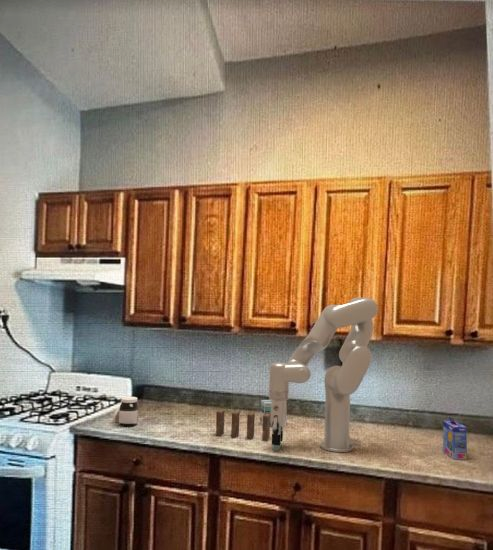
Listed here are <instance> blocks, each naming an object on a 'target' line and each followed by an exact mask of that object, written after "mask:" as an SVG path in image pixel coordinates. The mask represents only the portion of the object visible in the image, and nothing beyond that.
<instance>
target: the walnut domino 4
mask: <svg viewBox="0 0 493 550" xmlns="http://www.w3.org/2000/svg"><path fill="white" fill-rule="evenodd" d="M270 432H271V427H270V413H265V414H264V415H263V426H262V435H261V436H262V441H263V442H268V441H269V439H270V436H271V435H270Z"/></svg>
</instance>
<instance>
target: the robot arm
mask: <svg viewBox="0 0 493 550" xmlns="http://www.w3.org/2000/svg"><path fill="white" fill-rule="evenodd" d="M378 311H379V306H378V303H377V302H376V301H375V300H374V299H372V298H370V297H360V296H359V297H353V298H351V299H350V300H349V302H348V303H344V304H338V305H337V304H329V305H327V306H326V307H325V308H324V309H323V310H322V312H321V313H320V314H319V316H318V318H317V320H316V322H315V323H314V325H313V326H312V328H311V329H310V331H309V333H308V334H307V336H306V337H305V338H304V339H303V340H302V341H301V342H300V343H299V345H298V346H297V347H296V348H295V350H294V351H293V353H292V355H291V356H290V358H289V359H288V361H287V363H286V362H281V361H277V362H272V363H270V365H269V380H268V381H269V383H268V400H271V426H273V427H272V428H271V429H272V432H271V445H272V446H273V445H280V435H281V442H283V435H284V430H283V429H284V427H285V426H284V425H285V423H286V424H287V421H288V420H287V412H288V411H287V401H288V400H289V388H290V387H289V386H290V385H289V384H290V383H294V384H305V383H306V382H308V381H309V380H310V378H311V374H312V373H311V370H310V368H309V367H308V364H310V361H311V359H312V358H313V357H314V356H315V355H316V354H318V353H320V352H321V351H323V350H325V349H326V348H327V347H328V346H329V344H330V342H331V340H332V339H333V337H334V335H335V333H337V330H338V328H345V327H346V328H347V327H350V330H349V332H348V334H347V336H346V338H345V340H344V342H343V344H342V346H341V347H340V349H339V353H338V357H339V360H340V361H341V362H342V365H341V366H340V365H333V366H331V367H329V368H328V369H327V370H326V372H325V374H324V380H323V381H324V389H325V390H324V392H325V395H324V396H325V407H324V440H322V441H321V442H320V444H319V446H320V448H321V449H323V450H326V451H329V452H333V453H348V452H351V451H352V450H354V446H356V447H361V446H362V441H361V440H358V439H356V438H355V439H353V438H351V435H350V425H351V423H350V422H351V421H350V418H351V417H350V416H351V398H350V397H351V395H353V394H354V393H356V391H357V390H358V389H359V387H360V385H361V383H362V381H363V380H364V377H365V376H366V373H367V371H368V370H369V368H370V365H371V362H372V354H371V353H372V352H371V351H370V349H369V348H368V345H369V343H370V341H371V338H372V335H373V333H374V332H373V331H374V321H373V319H374V318H375V317H376V316H377V314H378ZM277 424H278V425H279V426H277ZM280 426H281V434H280ZM277 428H278V429H277Z"/></svg>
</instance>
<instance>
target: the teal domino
mask: <svg viewBox="0 0 493 550" xmlns="http://www.w3.org/2000/svg"><path fill="white" fill-rule="evenodd" d="M277 426H279V425H278V424H277ZM277 429H278V428H277ZM281 431H282V430H281V426H280V434H281ZM281 443H282V441H281V435H280V445H272V446H273V447H272V449H273V450H272V451H274V452H275V451H276V452H278V451H280V449H281V447H282V446H281V445H282V444H281Z"/></svg>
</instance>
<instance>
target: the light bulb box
mask: <svg viewBox="0 0 493 550" xmlns="http://www.w3.org/2000/svg"><path fill="white" fill-rule="evenodd" d="M259 411H260V416H259V424H261V426H262V427H263V415H264V414H265V413H270V428H271V427H272V428H273V426H271V400H270V399H260V410H259ZM286 424H287V422H286V423H285V425H284V426H283V427H286Z"/></svg>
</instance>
